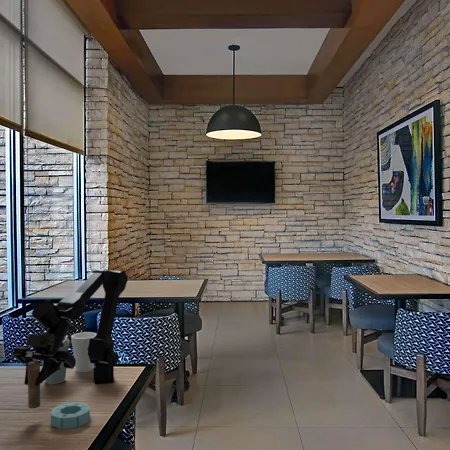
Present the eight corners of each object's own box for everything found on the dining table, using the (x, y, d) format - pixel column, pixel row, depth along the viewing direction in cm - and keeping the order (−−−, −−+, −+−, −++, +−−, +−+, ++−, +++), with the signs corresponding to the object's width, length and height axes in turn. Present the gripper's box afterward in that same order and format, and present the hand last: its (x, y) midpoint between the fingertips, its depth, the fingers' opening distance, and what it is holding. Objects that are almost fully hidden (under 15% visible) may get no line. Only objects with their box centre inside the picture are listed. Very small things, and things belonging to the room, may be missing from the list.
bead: (89, 410, 141) (89, 400, 141) (89, 425, 131) (89, 415, 131) (53, 414, 139) (53, 404, 139) (49, 430, 129) (49, 419, 129)
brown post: (41, 403, 137) (40, 360, 137) (39, 407, 134) (39, 364, 133) (29, 404, 136) (28, 361, 136) (27, 408, 133) (27, 365, 133)
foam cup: (66, 371, 175) (65, 337, 175) (81, 364, 184) (81, 331, 184) (87, 374, 172) (87, 339, 172) (102, 367, 181) (102, 333, 180)
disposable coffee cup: (64, 386, 160) (63, 343, 160) (33, 386, 161) (32, 343, 160) (74, 376, 171) (74, 335, 171) (45, 375, 171) (44, 335, 171)
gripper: (15, 320, 141) (-12, 368, 130) (69, 324, 135) (45, 375, 125) (33, 339, 148) (9, 386, 138) (85, 343, 143) (63, 393, 133)
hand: (30, 385), depth 133 cm, fingers closed on brown post, 3 cm apart
